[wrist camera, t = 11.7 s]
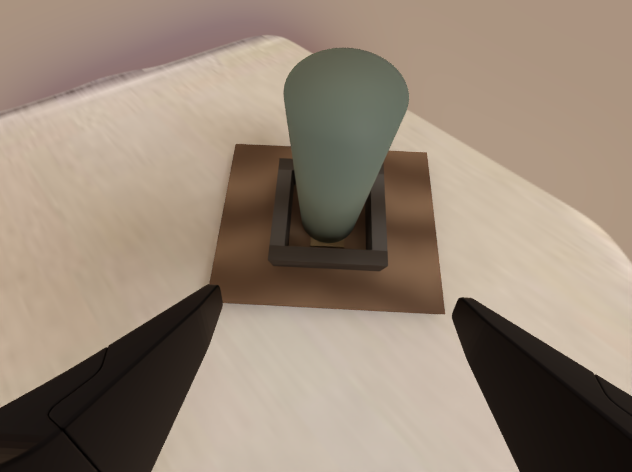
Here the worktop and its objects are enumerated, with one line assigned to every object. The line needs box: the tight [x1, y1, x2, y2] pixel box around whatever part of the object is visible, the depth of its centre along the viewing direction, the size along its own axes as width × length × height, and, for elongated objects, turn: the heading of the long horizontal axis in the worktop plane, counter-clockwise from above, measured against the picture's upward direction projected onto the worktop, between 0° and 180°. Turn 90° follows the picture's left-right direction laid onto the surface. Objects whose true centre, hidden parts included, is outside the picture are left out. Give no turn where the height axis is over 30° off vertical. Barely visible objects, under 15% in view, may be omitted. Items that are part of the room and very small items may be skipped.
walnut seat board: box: [210, 144, 445, 314], centre depth 22 cm, size 16×20×4 cm
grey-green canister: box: [284, 48, 409, 243], centre depth 16 cm, size 5×5×13 cm
